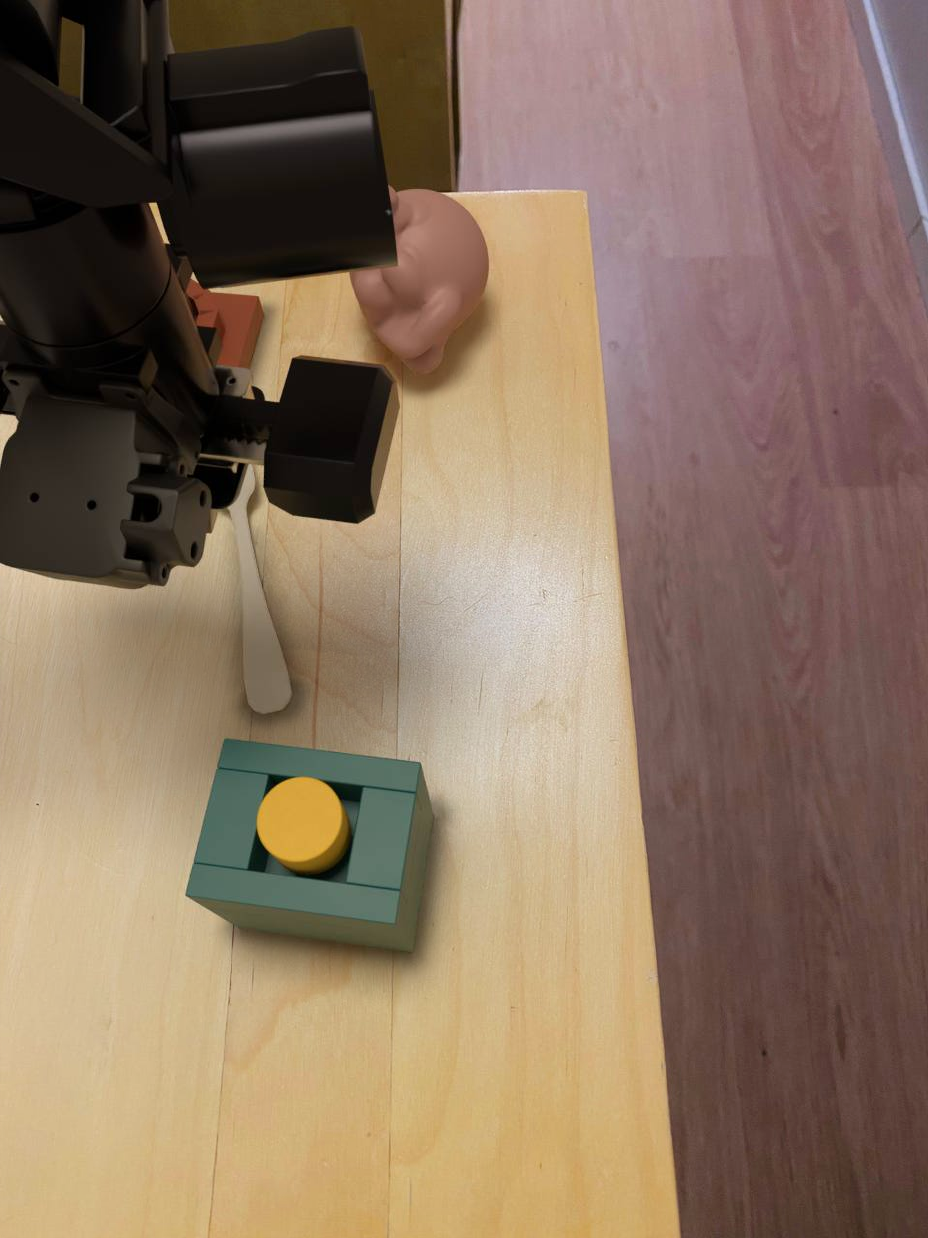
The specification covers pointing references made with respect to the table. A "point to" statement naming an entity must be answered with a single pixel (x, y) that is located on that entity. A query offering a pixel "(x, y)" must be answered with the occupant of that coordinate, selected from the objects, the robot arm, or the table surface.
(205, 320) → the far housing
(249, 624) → the fork
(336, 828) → the cylinder
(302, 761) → the green push button box
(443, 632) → the table surface
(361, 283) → the figurine
